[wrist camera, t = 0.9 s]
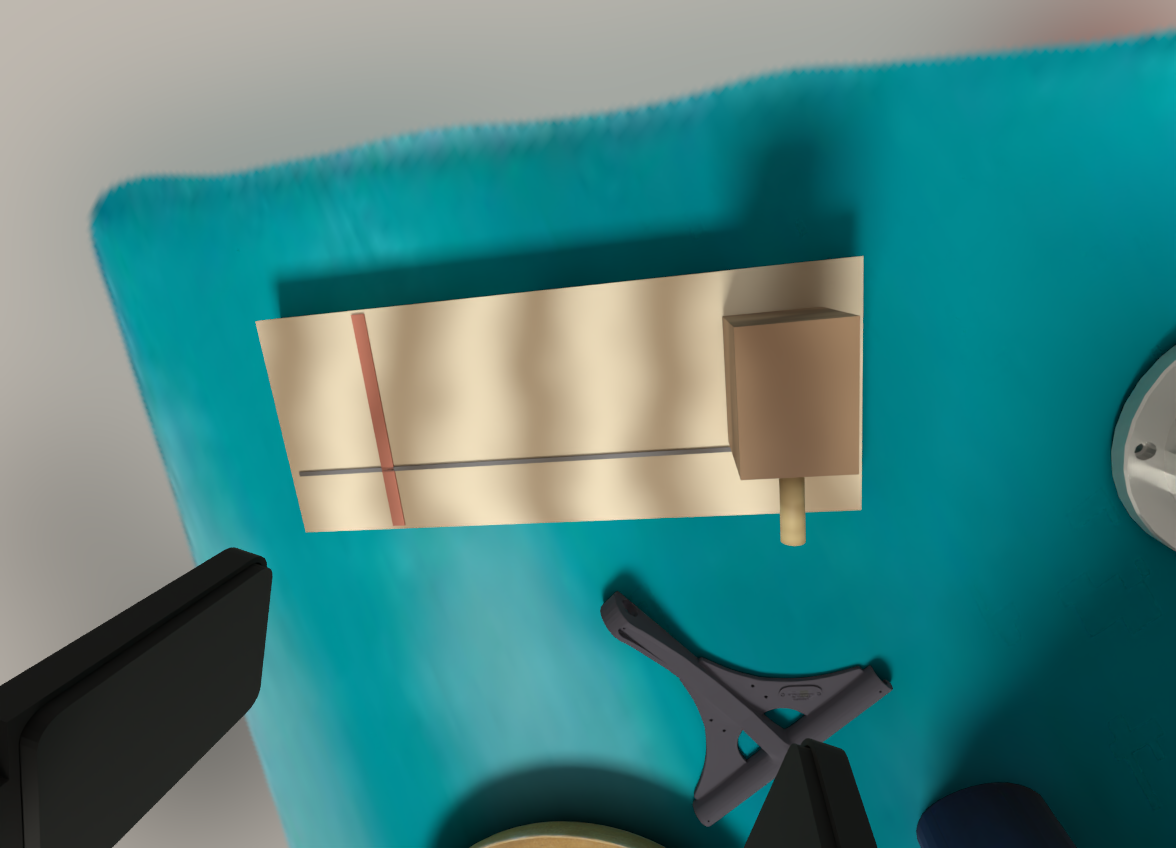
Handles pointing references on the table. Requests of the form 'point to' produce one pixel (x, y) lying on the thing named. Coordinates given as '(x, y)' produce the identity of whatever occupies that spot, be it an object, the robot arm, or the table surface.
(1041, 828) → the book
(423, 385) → the board
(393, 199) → the table surface
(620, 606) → the bracket
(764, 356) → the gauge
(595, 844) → the plant saucer
